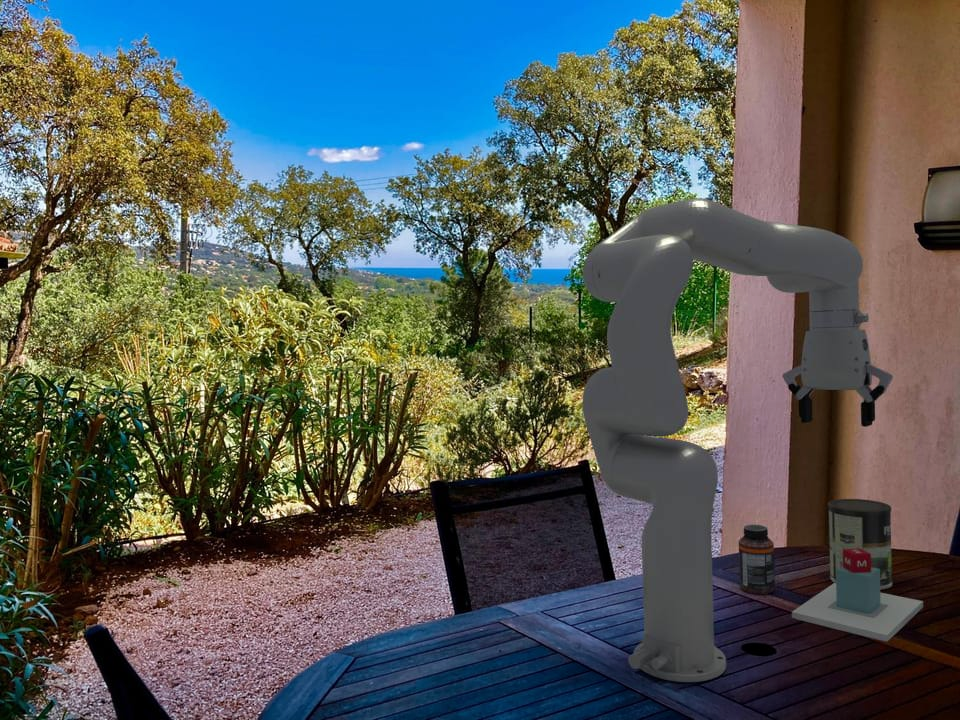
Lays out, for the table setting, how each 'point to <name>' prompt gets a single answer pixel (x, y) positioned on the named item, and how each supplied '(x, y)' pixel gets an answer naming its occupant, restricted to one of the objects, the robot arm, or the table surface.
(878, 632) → the pad
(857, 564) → the red letter cube
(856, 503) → the coffee can
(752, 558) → the supplement bottle
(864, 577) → the teal block
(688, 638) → the robot arm
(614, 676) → the table surface
